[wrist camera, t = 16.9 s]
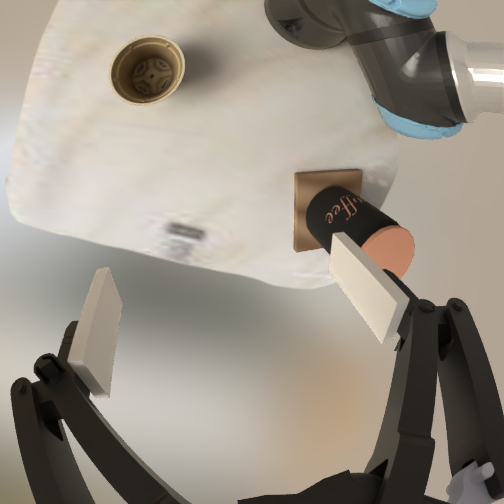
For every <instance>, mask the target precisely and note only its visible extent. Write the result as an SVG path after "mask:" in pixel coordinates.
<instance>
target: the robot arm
mask: <svg viewBox="0 0 504 504" xmlns="http://www.w3.org/2000/svg"><path fill="white" fill-rule="evenodd" d="M436 6H437V1H436V0H265V2H264V7H265V12H266V15H267V18H268V20H269V22H270V24H271V25H272V27H273V28H274V29H275V30H276V31H277V32H278V33H279V34H280V35H281V36H282V37H283V38H285V39H286V40H288V41H289V42H291V43H293V44H295V45H297V46H300V47H303V48H308V49H325V48H329V47H332V46H335V45H338V44H340V43H341V42H343V41H344V40H346V39H348V41H349V43H350V46H351V48H352V50H353V52H354V54H355V56H356V58H357V60H358V62H359V64H360V67H361V69H362V71H363V73H364V76H365V78H366V80H367V83H368V85H369V87H370V90H371V92H372V98H373V101H374V102H375V104H376V105H377V106H378V109H379V111H380V114H381V116H382V118H383V120H384V122H385V123H386V124H387V125H388V126H389V127H390V128H391V129H393V130H394V131H396V132H398V133H400V134H402V135H405V136H408V137H413V138H418V139H441V137H442V136H444V137H451V136H453V135H455V134H457V133H458V132H459V131H460V130H461V128H462V125H463V123H473V121H474V120H475V119H476V118H477V117H478V115H479V114H480V113H482V112H493V113H503V114H504V43H489V42H466V41H463V40H462V39H461V38H459V37H458V36H457V35H455V34H453V33H452V32H451V31H442V32H436V30H435V28H434V26H433V24H432V22H431V19H430V17H429V16H430V15H431V14H432V13H433V12H434V11H435V9H436ZM328 271H329V273H330V274H331V275H332V277H333V278H334V279H335V281H336V282H337V283H338V285H339V286H340V287H341V289H342V290H343V291H344V293H345V294H346V295H347V297H348V298H349V299H350V301H351V302H352V303H353V305H354V306H355V308H356V309H357V310H358V312H359V313H360V314H361V316H362V317H363V319H364V320H365V321H366V323H367V324H368V326H369V327H370V328H371V330H372V331H373V333H374V334H375V336H376V337H377V338H378V340H379V341H380V343H381V344H384V343H387V342H389V341H392V340H394V337H395V335H396V332H398V334H399V335H400V336H401V337H400V339H399V341H398V343H397V346H396V348H395V350H394V351H396V350H397V348H398V350H397V356H396V362H395V368H394V373H393V378H392V383H391V388H390V393H389V398H388V402H387V406H386V410H385V415H384V418H383V422H382V426H381V430H380V433H379V437H378V440H377V443H376V446H375V450H374V453H373V455H372V457H371V459H370V461H369V462H368V464H367V467H366V468H365V471H364V473H350V471H349V470H346V471H344V472H341V473H339V474H336V475H334V476H331V477H328V478H325V479H323V480H321V481H320V482H318V483H316V484H314V485H313V486H311V487H309V488H307V489H306V490H304V491H302V492H300V493H298V494H289V495H288V494H287V495H263V496H259V497H254V498H248V499H242V500H237V501H238V504H491V503H493V502H495V501H497V500H499V499H502V498H504V415H503V411H502V407H501V402H500V398H499V394H498V390H497V387H496V383H495V380H494V376H493V373H492V370H491V366H490V364H489V361H488V357H487V354H486V352H485V349H484V346H483V343H482V341H481V338H480V335H479V333H478V330H477V328H476V325H475V323H474V321H473V318H472V316H471V313H470V311H469V309H468V306H467V305H466V304H465V303H464V302H463V301H462V300H460V299H458V298H451V299H449V300H448V302H447V305H446V306H435V305H434V304H433V303H432V302H430V301H428V300H426V299H420V300H419V299H418V298H417V297H416V296H415V295H414V293H412V291H411V290H410V289H409V288H408V287H407V286H406V285H405V284H404V283H403V282H402V281H401V280H399V278H398V277H397V276H396V275H395V274H394V273H393V272H391V271H389V270H387V269H381V268H380V267H379V266H378V265H377V264H376V263H375V262H374V261H373V260H372V259H371V258H370V257H369V256H368V255H367V254H366V253H365V252H364V251H363V250H362V249H361V248H360V247H359V246H358V245H357V244H356V243H355V242H354V241H353V240H352V239H351V238H350V237H348V236H347V235H346V234H345V233H344V232H340V233H333V237H332V246H331V254H330V262H329V270H328ZM122 306H123V304H122V301H121V299H120V296H119V293H118V291H117V288H116V285H115V283H114V280H113V277H112V274H111V272H110V269H109V267H107V268H100V269H97V271H96V273H95V276H94V278H93V281H92V284H91V286H90V289H89V292H88V295H87V298H86V301H85V304H84V306H83V309H82V313H81V315H80V318H79V321H72V322H71V323H70V324H69V326H68V327H67V328H66V331H65V334H64V338H63V340H62V345H61V347H60V350H59V353H58V356H57V357H56V356H55V355H54V354H51V353H48V354H44V355H42V356H40V357H39V358H38V359H37V361H36V363H35V364H34V373H35V374H36V376H37V377H38V378H39V379H40V381H37V382H34V383H31V382H30V381H29V380H28V379H27V378H24V377H22V378H19V379H17V380H16V381H15V382H14V383H13V384H12V387H11V402H12V410H13V417H14V422H15V429H16V434H17V439H18V444H19V448H20V452H21V456H22V460H23V464H24V468H25V471H26V474H27V478H28V481H29V484H30V487H31V490H32V493H33V496H34V499H35V501H36V504H95V502H94V500H93V498H92V496H91V494H90V492H89V490H88V488H87V486H86V484H85V481H84V479H83V477H82V475H81V472H80V470H79V468H78V465H77V463H76V460H75V458H74V455H73V453H72V450H71V448H70V445H69V442H68V439H67V436H66V433H65V430H64V427H63V424H62V421H61V419H64V421H65V422H66V424H67V426H68V427H69V429H70V430H71V432H72V433H73V435H74V437H75V438H76V440H77V441H78V443H79V444H80V445H81V447H82V448H83V450H84V451H85V452H86V454H87V455H88V457H89V458H90V459H91V461H92V462H93V463H94V465H95V466H96V467H97V468H98V470H99V471H100V472H101V473H102V475H103V476H104V477H105V478H106V480H107V481H108V482H109V483H110V484H111V485H112V486H113V488H114V489H115V490H116V491H117V492H118V493H119V494H120V496H121V497H122V498H123V499H124V500H125V501H126V502H127V503H128V504H191V503H190V502H188V501H187V500H185V499H184V498H183V497H182V496H181V495H180V494H178V493H177V492H176V491H175V490H174V489H172V488H171V487H170V486H169V485H168V484H167V483H166V482H164V481H163V480H162V479H161V478H160V477H159V476H158V475H157V474H156V473H155V472H154V471H153V470H152V469H151V468H149V467H148V466H147V465H146V464H145V463H144V462H143V461H142V460H141V459H140V458H139V457H138V456H137V454H136V453H135V452H134V451H133V450H132V449H131V448H130V447H129V446H128V445H127V444H126V443H125V442H124V440H123V439H122V438H121V437H120V436H119V435H118V434H117V432H116V431H115V430H114V429H113V428H112V427H111V425H110V424H109V423H108V422H107V421H106V419H105V418H104V417H103V416H102V414H101V413H100V412H99V410H98V409H97V408H96V407H95V405H94V404H93V403H92V401H91V400H90V399H89V395H90V392H91V393H92V394H93V395H94V397H95V398H109V397H110V388H111V379H112V370H113V362H114V355H115V347H116V341H117V335H118V329H119V323H120V317H121V312H122ZM437 372H438V376H439V382H440V387H441V392H442V399H443V405H444V413H445V420H446V430H447V440H448V453H449V464H450V469H451V474H452V479H451V482H450V485H448V487H447V490H446V492H447V494H448V495H449V500H448V502H445V501H441V500H438V499H435V498H432V497H429V496H426V495H424V493H425V489H426V486H427V481H428V478H429V473H430V469H431V465H432V460H433V454H434V449H435V440H434V439H433V438H431V428H432V422H433V414H434V406H435V396H436V384H437Z"/></svg>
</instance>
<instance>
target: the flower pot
mask: <svg viewBox="0 0 504 504" xmlns="http://www.w3.org/2000/svg"><path fill="white" fill-rule="evenodd" d="M160 62H161V63H163V64H165V67H164V66H163V65H162V66H161V64H160ZM142 65H143V66H144V67H143V68H142V70H141V71H140V72H137V70H138V69H139V68H140V67H141V66H142ZM184 73H185V58H184V54H183V52H182V50H181V49H180V47H179V46H178V45H177V44H176V43H175V42H174V41H172V40H171V39H168V38H166V37H163V36H159V35H146V36H141V37H138V38H135V39H133V40H131V41H130V42H128V43H127V44H125V45H124V46H123V47H122V48H121V49H120V50H119V51H118V52H117V53H116V55H115V56H114V58H113V60H112V62H111V65H110V69H109V82H110V86H111V88H112V90H113V92H114V93H115V94H116V95H117V96H118V97H119V98H120V99H121V100H123V101H124V102H126V103H129V104H132V105H137V106H147V105H152V104H156V103H158V102H161V101H162V100H164V99H166V98H167V97H169V96H170V95H171V94H172V93H173V92H174V91H175V90H176V89H177V88H178V86H179V85H180V83H181V81H182V79H183V76H184ZM151 75H153V76H154V77H151ZM166 81H168V84H167V86H166V87H165V88H162V86H163V85H164V84H165V83H166ZM140 86H141V87H142V88H144V89H145V90H146V91H142V90H140V89H139V87H140Z"/></svg>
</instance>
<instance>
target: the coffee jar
mask: <svg viewBox="0 0 504 504" xmlns="http://www.w3.org/2000/svg"><path fill="white" fill-rule="evenodd" d="M306 225H307V228H308V230H309V232H310V234H311V235H312V236H313V237H314V238H315V239H316V240H317V241H318V242H319V243H320V245H321V246H322V247H323V248H324V249H325V250H326V251H327V252H328V253H329V255H330V254H331V246H332V237H333V233H340V232H344V233H345V234H346V235H347V236H348V237H350V238H351V239H352V240H353V241H354V242H355V243H356V244H357V245H358V246H359V247H360V248H361V249H362V250H363V251H364V252H365V253H366V254H367V255H368V256H369V257H370V258H371V259H372V260H373V261H374V262H375V263H376V264H377V265H378V266H379V267H380V268H381V269H387V270H389V271H391V272H393V273H394V274H395V275H396V276H397V277H398V278H399V280H400V278H401V277H402V276H403V275H404V274H405V272H406V271H407V269H408V267H409V266H410V264H411V261H412V258H413V256H414V247H415V245H414V239H413V236H412V235H411V233H410V232H409V231H408V230H406V229H404V228H402V227H401V226H400V225H399V224H398V223H397V222H396V221H394V220H393V219H392V218H390V217H389V216H387V215H385V214H384V213H383V212H381V211H380V210H378V209H377V208H375V207H374V206H372V205H371V204H369V203H368V202H366V201H365V200H363V199H362V198H360V197H358V196H357V195H355V194H354V193H352V192H351V191H349V190H347V189H345V188H343V187H334V186H333V187H329V188H326V189H323V190H322V191H320V192H319V193H317V194H316V195H315V196H314V197H313V199H312V200H311V201H310V203H309V206H308V208H307V211H306Z"/></svg>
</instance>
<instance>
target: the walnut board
mask: <svg viewBox="0 0 504 504" xmlns="http://www.w3.org/2000/svg"><path fill="white" fill-rule="evenodd" d="M361 177H362V171H361V170H358V169H348V170H330V171H315V172H302V173H295V200H294V250H295V251H296V253H297V252H302V251H308V250H313V249H319V248H323V247H322V246H321V245H320V243H319V242H318V241H317V240H316V239H315V238H314V237H313V236H312V235H311V234H310V232H309V230H308V228H307V225H306V211H307V208H308V206H309V203H310V201H311V200H312V199H313V197H314V196H315V195H316V194H317V193H319V192H320V191H322V190H323V189H326V188H329V187H333V186H334V187H343V188H345V189H347V190H349V191H351V192H352V193H354V194H355V195H357V196H358V197H360V188H361Z"/></svg>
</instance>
